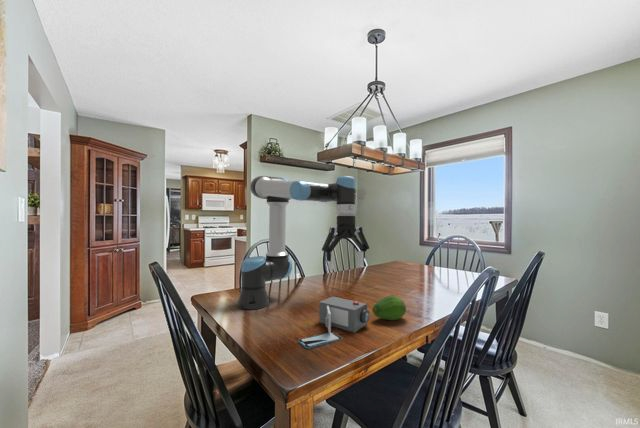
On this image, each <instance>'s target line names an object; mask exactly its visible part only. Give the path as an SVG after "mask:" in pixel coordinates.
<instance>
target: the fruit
mask: <svg viewBox="0 0 640 428" xmlns="http://www.w3.org/2000/svg"><path fill="white" fill-rule="evenodd" d="M371 310H372V314H374V316H375V317H377V318H379V319H383V320H387V321H397V320H400V319H401V318H403V317H404V315H405V314H406V312H407V307H406V304H405V302H404V301H403V300H402V299H401V298H400V297H398V296H395V295H389V296H385V297H383V298H381V299H380V300H379V301H377V302H376V303H375V304H374V305H373V306H372V308H371Z"/></svg>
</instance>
